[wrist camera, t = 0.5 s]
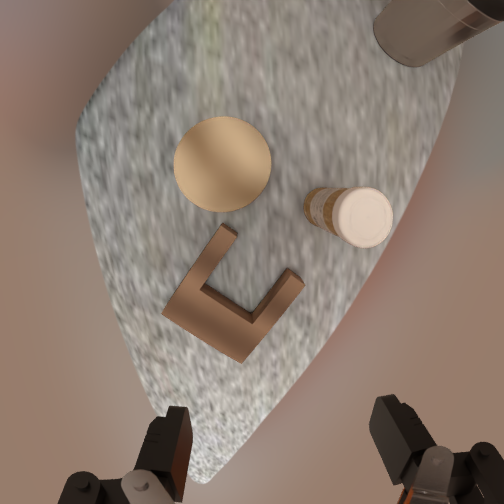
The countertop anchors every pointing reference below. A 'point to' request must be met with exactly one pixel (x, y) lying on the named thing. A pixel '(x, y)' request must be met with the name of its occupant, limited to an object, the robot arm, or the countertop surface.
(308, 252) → the countertop surface
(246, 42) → the countertop surface
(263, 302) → the c-shaped block
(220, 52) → the countertop surface
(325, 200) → the sprinkles bottle
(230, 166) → the bobbin
